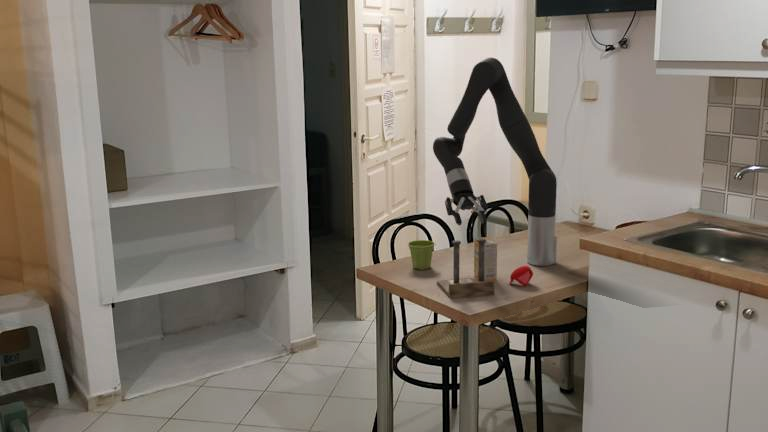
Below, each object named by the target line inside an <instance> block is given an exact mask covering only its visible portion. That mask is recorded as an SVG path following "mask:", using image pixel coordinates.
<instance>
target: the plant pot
mask: <svg viewBox="0 0 768 432" xmlns="http://www.w3.org/2000/svg"><path fill="white" fill-rule="evenodd" d="M435 245H436V242H434V241H433V240H428V239H427V240H423V239H419V240H412V241H411V240H410V241H409V242H407V246H408V247H409V248H408V249H409V251H410V256H411V262H412V264H411V265H412V268H413V269H418V270H421V271H422V270H428V269H431V265H432V257H433V250H434V246H435Z"/></svg>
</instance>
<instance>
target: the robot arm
mask: <svg viewBox="0 0 768 432" xmlns="http://www.w3.org/2000/svg"><path fill="white" fill-rule="evenodd" d="M488 90H489V92H490V93H491V96H492V98H493V99H494V100H493V101H494V103H495V107H496V115H497V120H498V123H499V127H500V129H501V131H502V133H503V135H504V137H505V139H506V141H507V142H508V144H509V145H510V147H511V148H512V150H513V151H514V153H515V154H516V155H517V156H518V158H519V159H520V161H521V163H522V166H523V167H524V169H525V172H526V175H527V177H528V206H527V207H528V214H527V215H528V217H527V218H528V221H527V256H526V259H527V260H526V263H527V264H529V265H531V266H537V267H538V266H540V267H541V266H542V267H545V266H552V265H555V264H557V253H558V252H557V247H558V246H557V245H558V238H557V236H556V211H557V188H558V187H557V185H558V184H557V176H556V174H555V173H554V171H553V170H552V168H551V167H550V165H549V164H548V162H547V160H546V159H545V157H544V156H543V154H542V151H541V150H540V146H539V144H538V141H537V138H536V135H535V133H534V131H533V129H532V127H531V125H530V122H529V120H528V118H527V116H526V114H525V113H524V111H523V108H522V106H521V104H520V103H519V101H518V99H517V97H516V95H515V93H514V91H513V89H512V86H511V83H510V81H509V78H508V76H507V72H506V70H505V68H504V65H503V64H502V63H501V61H500V60H499V59H498V58H495V57H486V58H485V59H482V60H480V61H478V62H477V63H475V65H473V68H472V70H471V74H470V76H469V79H468V83H467V85H466V88H465V91H464V93H463V95H462V98H461V100H460V102H459V104H458V106H457V108H456V109H455V111H454V114H453V115H452V116H451V119H450V121H449V123H448V125H447V132H448V133H449V135H451V136H452V137H446V136H439V137H436V139H434V141H433V144H432V151H433V154H434V156H435V158H436V159H437V161H438V162H439V164H440V165H441V167H442V168H443V169H444V174H445V177H446V183H447V186H448V189H449V192H450V194H451V197H452V198H450V197H449V196H448V197H446V199H445V201H444V205H445V209H446V213H447V215H448V216H450V217H451V216H453V218H454V221H455V224H456V225H458V226H461V225H462V223H463V222H462V217H461V214H460V210H461V211H465V210H468V211H470V210H472V211H473V212H476V213H477V214H478V218H479V220H480V223H481V224H484V223H485V222H486V220H487V217H486V213H487V211H488V209H489V207H488V203H487V201H486V199H485V196H484V195H483V194H480V195H479V196H475V195H474V190H473V187H472V184H471V181H470V178H469V175H468V173H467V171H466V169H465V166H464V163H463V160H462V159H461V158H460V157H459V156H460V155H461V153H462V152H463V148H464V143H465V139H466V134H467V133H468V131H469V129H470V127H471V125H472V123H473V122H474V119H475V116H476V114H477V110H478V107H479V105H480V102H481V101H482V98H483V97H484V95H485V94H486V93H487V91H488ZM452 204H453V205H455V206H456V207H455V209H453V205H452Z"/></svg>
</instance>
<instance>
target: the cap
mask: <svg viewBox="0 0 768 432" xmlns="http://www.w3.org/2000/svg"><path fill="white" fill-rule="evenodd" d="M533 276H534V272H533V270H532V269H531V267H530V266H529V265H528V266H527V265H523V266H520V267H517V268H515V269H514V270H513V272H512V273H511V274H510V281H509V285H511V284H513V282H514V281H516V282H518V284H520V285H522V286H523V287H528V284H529V283H530V281H531V280H532V278H533Z"/></svg>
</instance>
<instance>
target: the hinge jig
mask: <svg viewBox="0 0 768 432" xmlns="http://www.w3.org/2000/svg"><path fill="white" fill-rule="evenodd" d="M477 242H479V260H478V277H466V278H460V247H461V246H460V245H461V244H462V241H461V240H452V244H453V273H452V274H453V279H441V280H439V279H438V280H436V285H437V286H438V288H440V289H441V290H442V291H443V292H444V294H445V295H446V296H447V297H448V298H449V299H462V298H461V297H463V298H473V296H475V297H486V296H485V295H488V296H495V290H494V289H495V281H493V280H492V281H484V250H485V242H486V239H478V240H477Z"/></svg>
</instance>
